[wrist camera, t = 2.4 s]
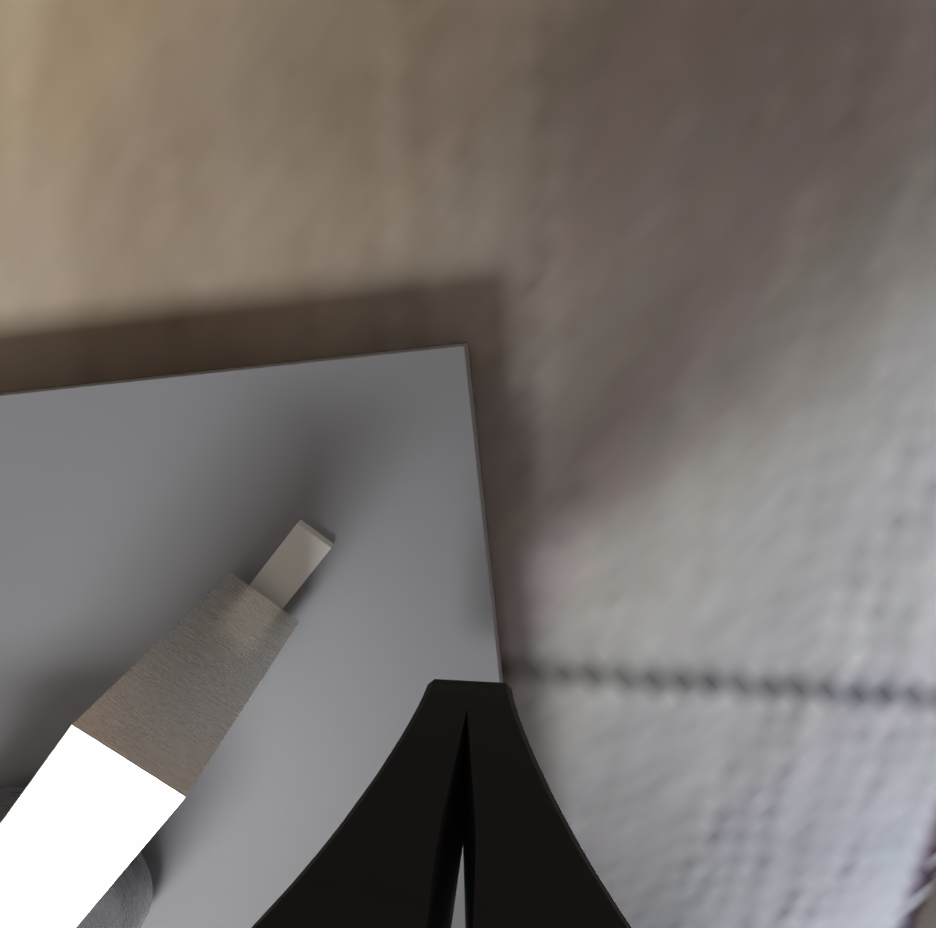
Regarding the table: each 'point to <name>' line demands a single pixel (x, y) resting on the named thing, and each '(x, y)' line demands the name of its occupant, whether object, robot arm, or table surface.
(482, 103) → the table surface
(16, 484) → the panel
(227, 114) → the table surface
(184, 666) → the lever handle
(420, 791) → the robot arm
